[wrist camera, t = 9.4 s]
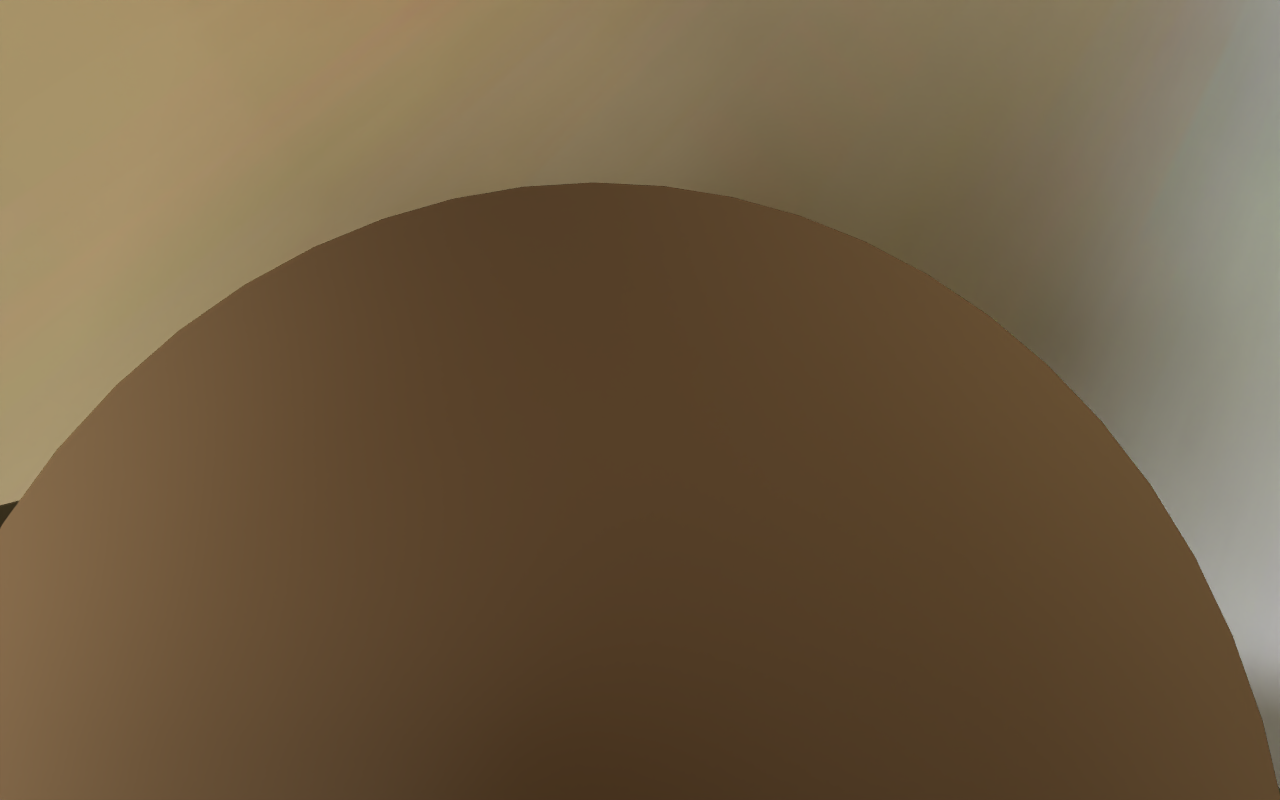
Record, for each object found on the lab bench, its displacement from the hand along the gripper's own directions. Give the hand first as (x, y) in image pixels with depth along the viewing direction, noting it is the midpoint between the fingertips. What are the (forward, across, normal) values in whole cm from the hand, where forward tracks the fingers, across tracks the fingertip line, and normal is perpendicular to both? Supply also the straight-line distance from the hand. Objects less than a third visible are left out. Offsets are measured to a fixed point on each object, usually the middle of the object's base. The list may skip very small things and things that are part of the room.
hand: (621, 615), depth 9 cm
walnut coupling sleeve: (+4, 0, +6) cm, 8 cm away
